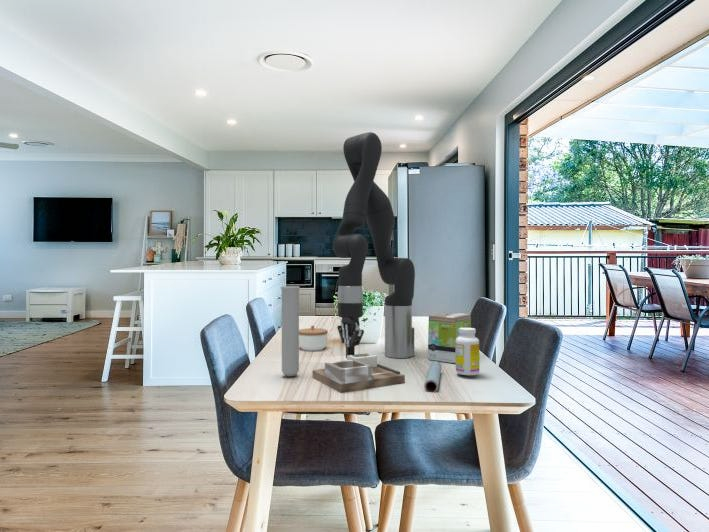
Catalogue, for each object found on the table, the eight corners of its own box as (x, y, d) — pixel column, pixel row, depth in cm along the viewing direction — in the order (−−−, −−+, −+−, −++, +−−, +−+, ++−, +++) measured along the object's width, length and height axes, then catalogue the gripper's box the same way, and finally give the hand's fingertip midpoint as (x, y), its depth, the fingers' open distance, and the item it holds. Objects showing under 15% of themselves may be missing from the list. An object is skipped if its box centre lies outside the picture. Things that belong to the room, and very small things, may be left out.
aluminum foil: (438, 394, 109) (438, 380, 109) (410, 392, 110) (410, 378, 110) (441, 372, 131) (441, 361, 131) (418, 371, 132) (418, 359, 132)
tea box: (456, 363, 141) (456, 317, 141) (426, 360, 146) (427, 315, 146) (471, 355, 153) (471, 312, 153) (443, 352, 159) (443, 311, 159)
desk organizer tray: (371, 369, 132) (371, 351, 132) (404, 382, 117) (404, 361, 117) (312, 377, 123) (312, 357, 123) (340, 392, 108) (340, 369, 108)
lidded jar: (296, 349, 164) (296, 324, 164) (324, 348, 167) (324, 323, 167) (299, 355, 154) (299, 328, 154) (330, 354, 156) (330, 327, 156)
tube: (297, 379, 121) (297, 287, 121) (278, 378, 122) (278, 287, 122) (301, 374, 127) (301, 286, 127) (283, 373, 127) (283, 286, 127)
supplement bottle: (480, 371, 130) (480, 327, 130) (478, 376, 124) (478, 330, 124) (456, 369, 132) (456, 326, 132) (454, 374, 126) (454, 329, 126)
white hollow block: (367, 363, 131) (367, 352, 131) (376, 366, 127) (376, 355, 127) (346, 365, 128) (346, 354, 128) (355, 369, 123) (355, 357, 123)
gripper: (372, 302, 129) (372, 361, 129) (350, 299, 141) (350, 354, 141) (349, 303, 126) (349, 364, 126) (329, 300, 137) (329, 356, 137)
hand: (350, 358), depth 133 cm, fingers closed
